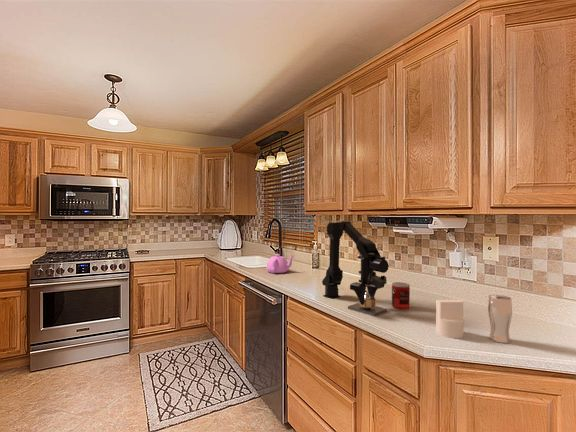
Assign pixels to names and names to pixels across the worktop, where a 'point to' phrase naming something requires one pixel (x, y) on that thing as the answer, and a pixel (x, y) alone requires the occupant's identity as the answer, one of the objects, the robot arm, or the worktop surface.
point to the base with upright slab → (449, 318)
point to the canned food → (400, 295)
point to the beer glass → (500, 317)
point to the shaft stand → (369, 311)
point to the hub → (368, 303)
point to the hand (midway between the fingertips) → (366, 303)
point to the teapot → (278, 264)
